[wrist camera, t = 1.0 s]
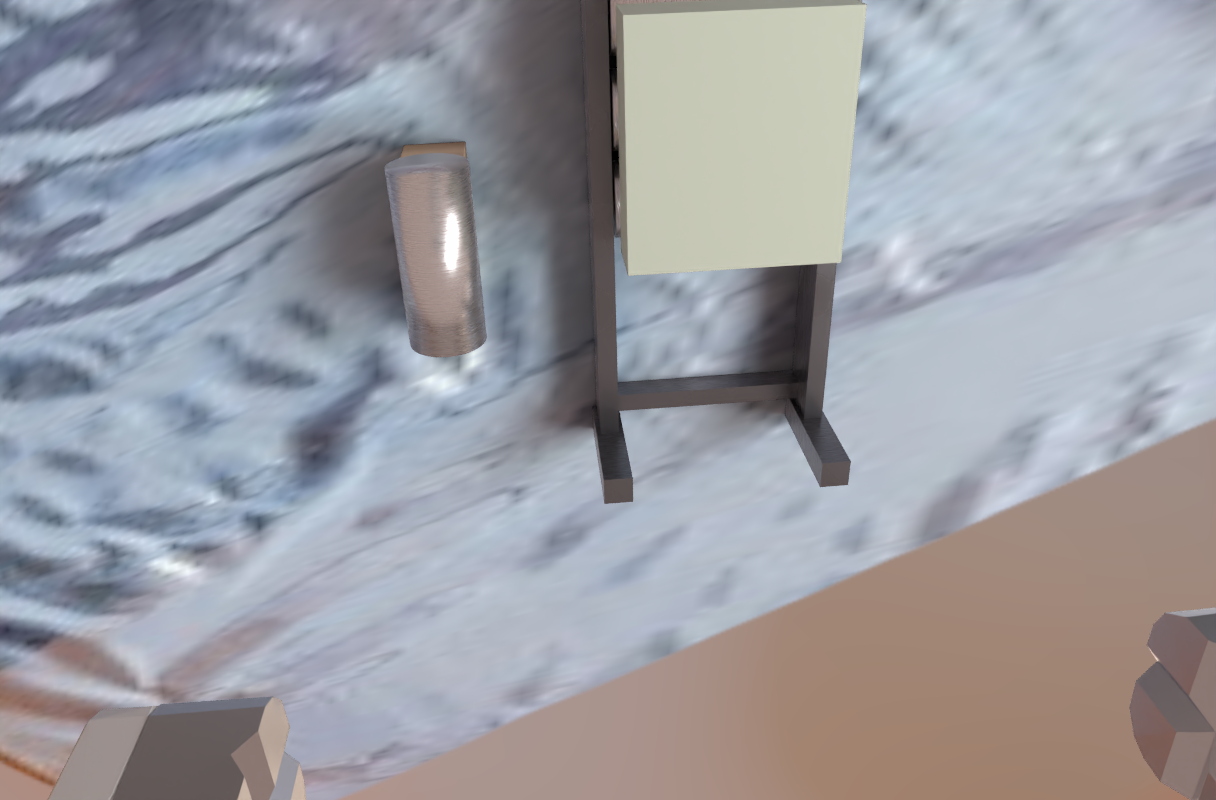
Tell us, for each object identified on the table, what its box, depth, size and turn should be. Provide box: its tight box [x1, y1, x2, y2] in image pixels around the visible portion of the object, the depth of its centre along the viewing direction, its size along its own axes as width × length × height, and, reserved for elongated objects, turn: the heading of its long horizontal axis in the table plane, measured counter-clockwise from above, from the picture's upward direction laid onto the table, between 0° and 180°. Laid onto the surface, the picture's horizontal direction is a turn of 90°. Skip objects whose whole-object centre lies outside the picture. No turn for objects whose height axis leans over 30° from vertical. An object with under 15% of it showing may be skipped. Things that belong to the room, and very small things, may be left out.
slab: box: [616, 0, 867, 276], centre depth 34 cm, size 9×8×2 cm
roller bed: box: [580, 0, 862, 504], centre depth 38 cm, size 21×10×6 cm, turn 2°
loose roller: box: [384, 153, 487, 357], centre depth 36 cm, size 7×3×3 cm, turn 2°
